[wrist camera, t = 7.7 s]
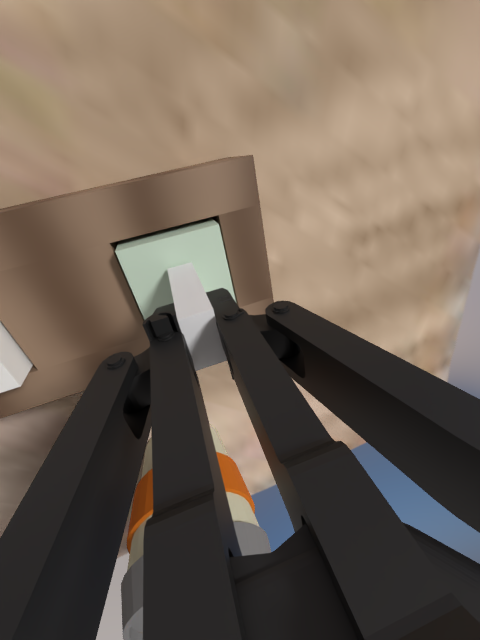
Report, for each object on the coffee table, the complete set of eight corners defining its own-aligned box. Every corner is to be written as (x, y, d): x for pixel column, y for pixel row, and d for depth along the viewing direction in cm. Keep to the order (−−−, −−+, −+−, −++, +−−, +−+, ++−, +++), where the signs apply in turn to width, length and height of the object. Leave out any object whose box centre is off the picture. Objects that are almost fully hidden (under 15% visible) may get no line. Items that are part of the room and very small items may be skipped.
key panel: (-38, 386, 24) (-88, 447, 19) (-174, 248, 17) (-305, 282, 12) (252, 297, 27) (277, 326, 22) (227, 157, 21) (253, 155, 16)
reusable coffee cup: (106, 440, 31) (80, 632, 18) (213, 391, 32) (258, 540, 19) (158, 493, 37) (164, 661, 25) (244, 452, 38) (293, 592, 26)
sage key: (151, 306, 23) (152, 338, 19) (121, 233, 20) (115, 251, 16) (221, 285, 24) (238, 311, 20) (203, 212, 21) (218, 224, 16)
